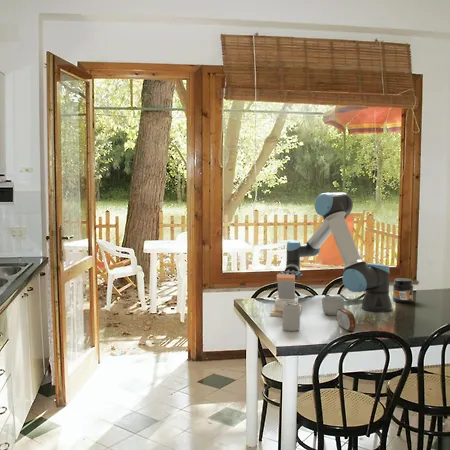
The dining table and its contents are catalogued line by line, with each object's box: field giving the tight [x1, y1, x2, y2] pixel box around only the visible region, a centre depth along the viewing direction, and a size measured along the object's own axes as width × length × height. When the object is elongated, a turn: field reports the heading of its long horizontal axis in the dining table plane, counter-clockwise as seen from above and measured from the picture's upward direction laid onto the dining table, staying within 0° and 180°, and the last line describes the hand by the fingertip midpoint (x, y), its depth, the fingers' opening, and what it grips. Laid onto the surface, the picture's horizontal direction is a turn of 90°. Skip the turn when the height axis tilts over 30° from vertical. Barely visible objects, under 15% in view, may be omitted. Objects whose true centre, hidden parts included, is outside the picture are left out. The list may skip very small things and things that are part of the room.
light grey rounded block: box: [321, 295, 345, 316], centre depth 273 cm, size 14×11×8 cm
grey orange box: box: [276, 273, 296, 299], centre depth 270 cm, size 3×9×14 cm
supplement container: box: [392, 277, 414, 304], centre depth 301 cm, size 10×10×12 cm
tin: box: [336, 307, 357, 332], centre depth 245 cm, size 15×3×8 cm, turn 12°
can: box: [282, 302, 301, 333], centre depth 243 cm, size 8×8×12 cm
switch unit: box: [269, 296, 303, 318], centre depth 274 cm, size 18×14×6 cm
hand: (288, 279), depth 281 cm, fingers closed
